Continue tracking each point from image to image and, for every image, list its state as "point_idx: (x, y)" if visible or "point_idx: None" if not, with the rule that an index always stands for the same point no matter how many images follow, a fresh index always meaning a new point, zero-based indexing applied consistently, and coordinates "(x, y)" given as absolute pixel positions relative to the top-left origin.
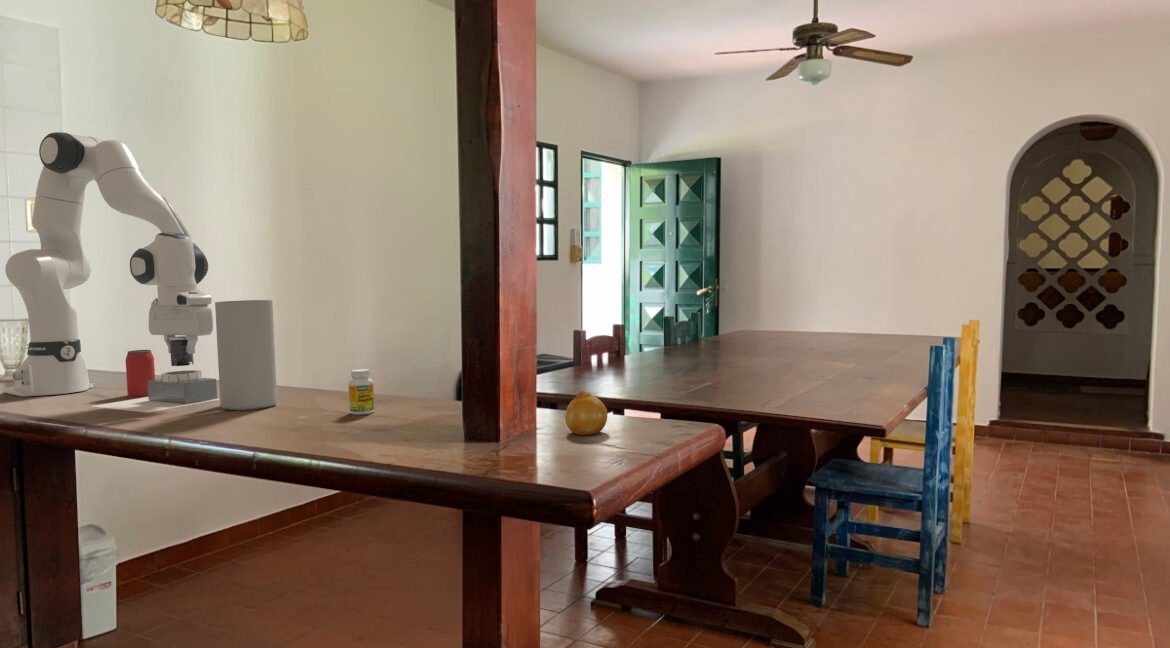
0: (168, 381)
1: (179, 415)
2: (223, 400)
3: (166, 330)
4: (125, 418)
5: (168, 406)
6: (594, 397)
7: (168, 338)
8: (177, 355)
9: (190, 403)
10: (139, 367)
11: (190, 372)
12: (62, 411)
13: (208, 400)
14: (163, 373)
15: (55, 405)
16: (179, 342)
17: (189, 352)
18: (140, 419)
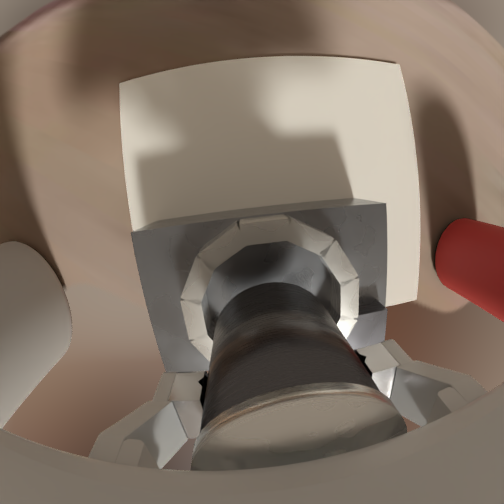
0: (240, 220)
1: (38, 138)
2: (3, 244)
3: (465, 447)
4: (119, 33)
5: (160, 166)
6: None
7: (438, 404)
8: (234, 325)
9: None
10: (502, 257)
11: None
12: (395, 18)
13: None
14: (329, 247)
15: (485, 81)
16: (214, 406)
17: (163, 378)
18: (73, 56)
